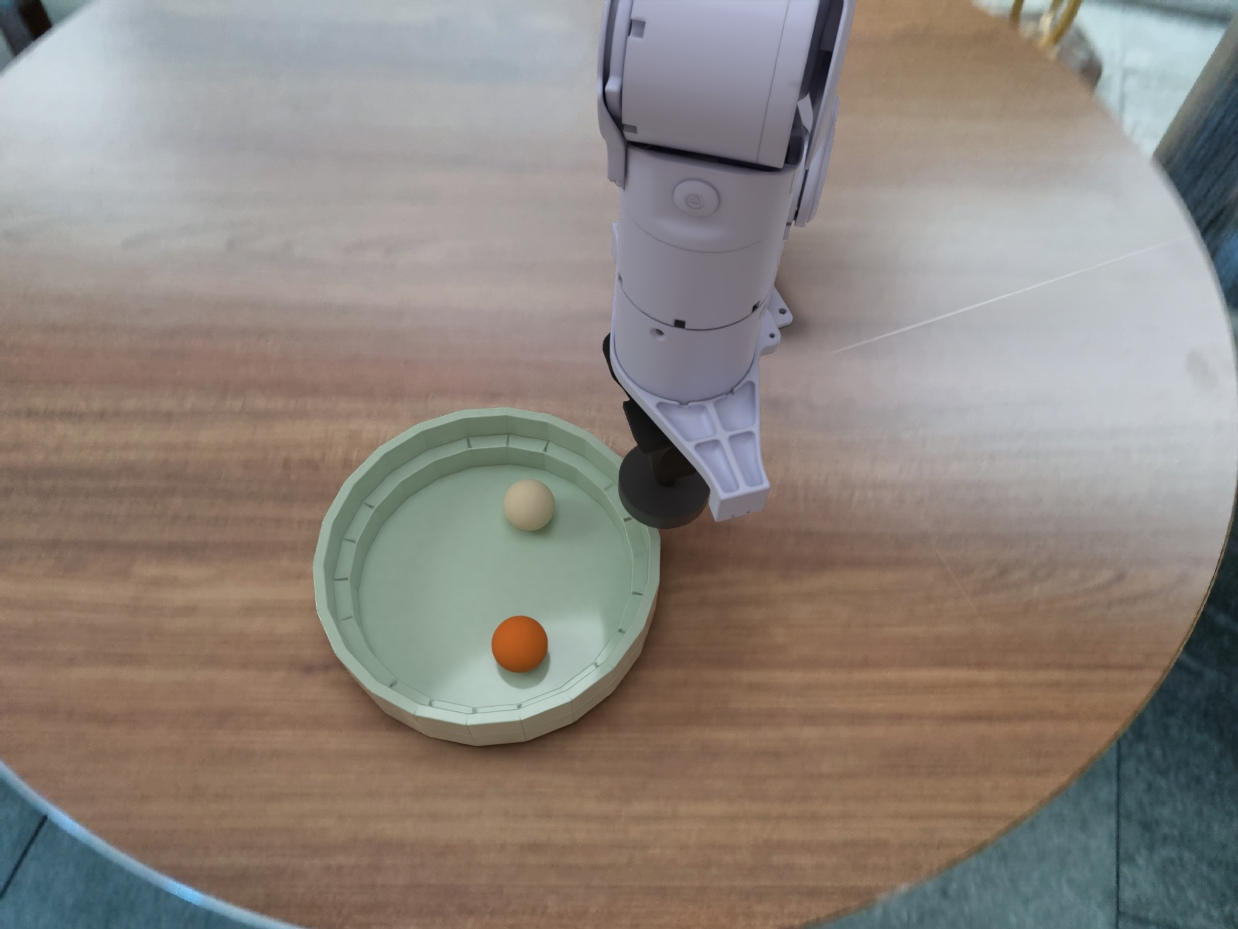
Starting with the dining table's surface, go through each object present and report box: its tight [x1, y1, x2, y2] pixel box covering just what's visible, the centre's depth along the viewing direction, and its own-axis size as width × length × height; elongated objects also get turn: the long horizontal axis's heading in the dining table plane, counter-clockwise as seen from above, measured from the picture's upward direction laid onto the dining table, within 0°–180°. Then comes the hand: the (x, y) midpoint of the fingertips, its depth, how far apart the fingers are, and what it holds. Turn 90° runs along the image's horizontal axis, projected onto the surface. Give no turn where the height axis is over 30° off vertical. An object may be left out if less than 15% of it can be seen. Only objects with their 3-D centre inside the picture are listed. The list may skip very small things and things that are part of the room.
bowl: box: [312, 406, 662, 747], centre depth 51 cm, size 18×18×5 cm
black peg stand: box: [618, 444, 711, 530], centre depth 45 cm, size 5×5×8 cm
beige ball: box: [503, 479, 555, 531], centre depth 53 cm, size 3×3×3 cm
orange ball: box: [491, 616, 548, 673], centre depth 49 cm, size 3×3×3 cm
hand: (669, 457), depth 46 cm, fingers closed on black peg stand
